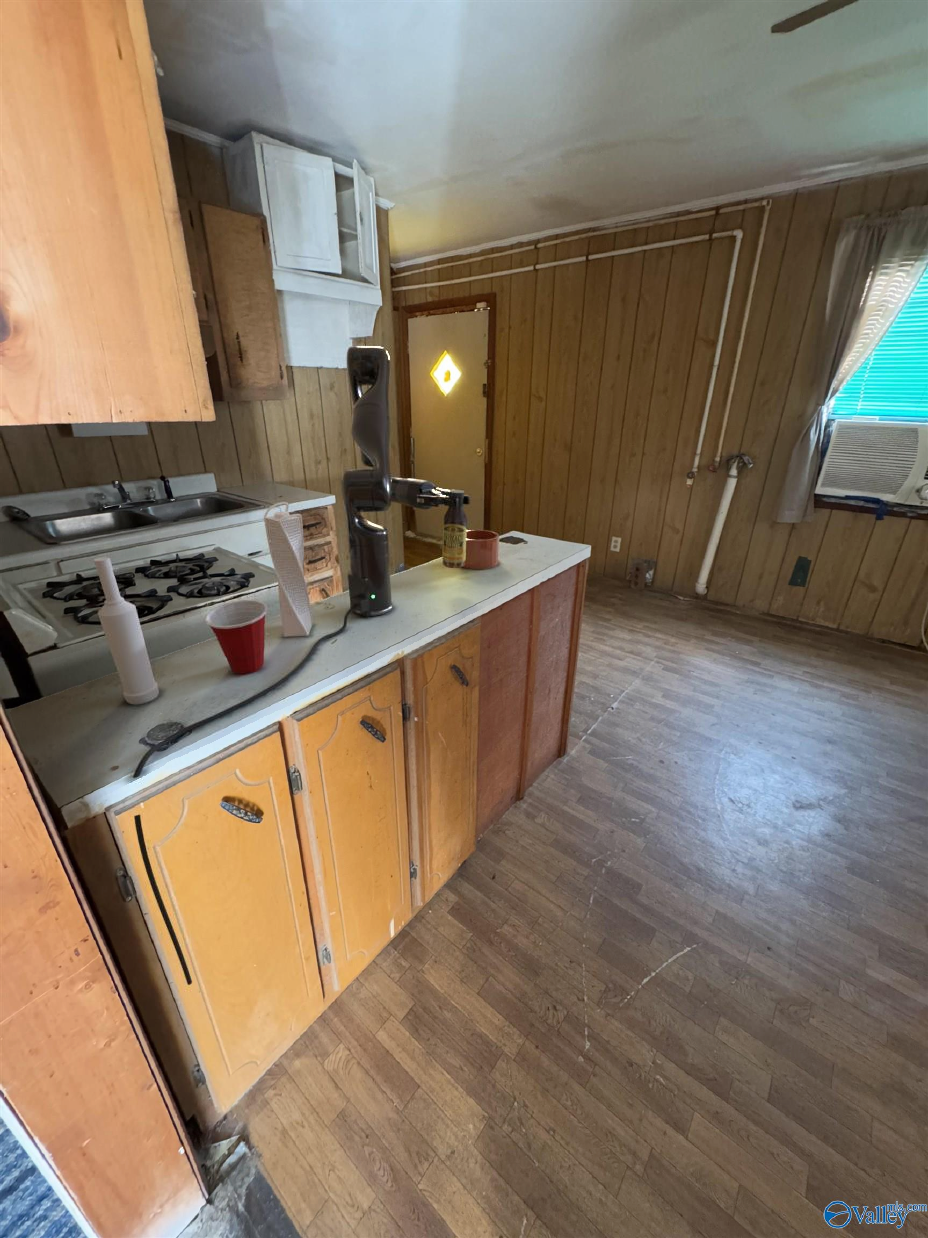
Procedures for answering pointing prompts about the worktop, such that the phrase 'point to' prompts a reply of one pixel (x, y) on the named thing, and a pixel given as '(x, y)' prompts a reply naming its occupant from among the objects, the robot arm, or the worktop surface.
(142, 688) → the bottle
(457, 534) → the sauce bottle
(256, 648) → the plastic cup
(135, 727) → the worktop surface
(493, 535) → the crock
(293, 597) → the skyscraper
